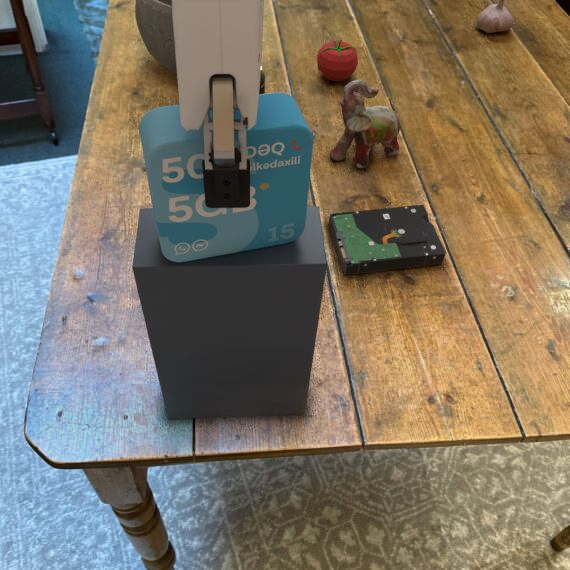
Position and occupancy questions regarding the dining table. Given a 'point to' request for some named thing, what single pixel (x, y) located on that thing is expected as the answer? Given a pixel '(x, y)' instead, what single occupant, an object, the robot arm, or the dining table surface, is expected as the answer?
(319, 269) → the plinth
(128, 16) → the dining table surface
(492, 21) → the garlic bulb
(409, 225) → the disk drive
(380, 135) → the figurine
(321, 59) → the tomato
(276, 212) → the data package
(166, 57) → the bowl
